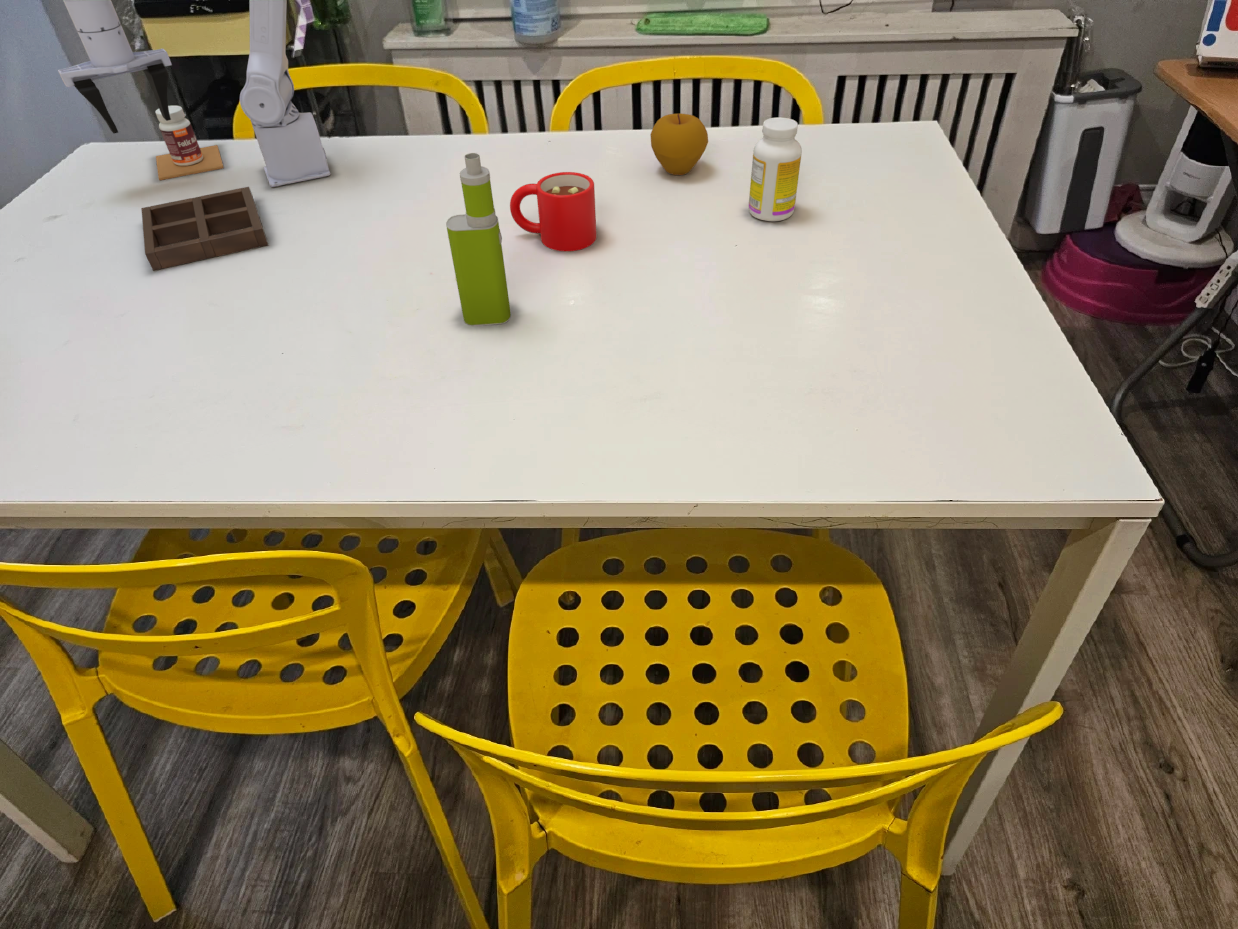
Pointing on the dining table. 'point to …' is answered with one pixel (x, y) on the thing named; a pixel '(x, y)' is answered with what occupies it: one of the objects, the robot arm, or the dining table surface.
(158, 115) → the pill bottle
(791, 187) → the supplement bottle
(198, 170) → the cork mat
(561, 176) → the mug
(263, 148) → the robot arm
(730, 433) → the dining table surface
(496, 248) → the vape
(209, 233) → the rack
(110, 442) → the dining table surface
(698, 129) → the apple
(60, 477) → the dining table surface
